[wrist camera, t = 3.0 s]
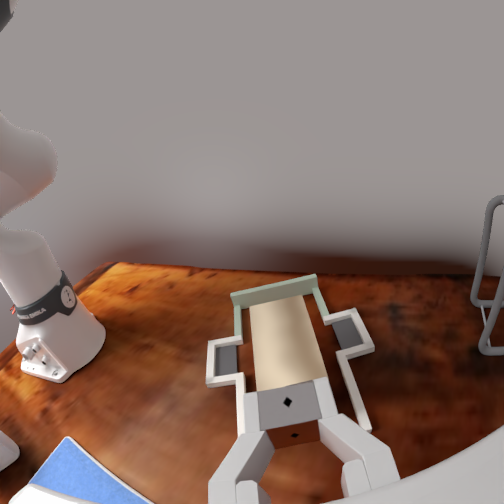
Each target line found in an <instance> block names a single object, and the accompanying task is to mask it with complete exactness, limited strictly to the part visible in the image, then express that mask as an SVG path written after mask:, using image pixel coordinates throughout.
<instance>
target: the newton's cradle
mask: <svg viewBox="0 0 504 504" xmlns="http://www.w3.org/2000/svg"><path fill="white" fill-rule="evenodd" d="M501 204H504V195H500V196H496V197H494V198H493V199H492V200H491V201H490V202H489V203H488V205H487V208H486V213H485V221H484V229H483V236H482V243H481V248H480V254H479V259H478V264H477V269H476V274H475V278H474V283H473V287H472V291H471V296H470V299H471V302H472V304H473V305H474V306H476V307H479V308H481V311H482V315H483V320H484V325H485V328H484V331H483V333H482V336H481V338H480V341H479V345H478V346H479V350H480V352H481V353H482V354H484V355H489V356H494V355H504V347H491V345H490V339H489V336H490V334H491V332H492V329H493V327H494V324H495V321H496V319H497V316H498V313H499V310H500V308H504V301H503V299H504V267H503V271H502V275H501V279H500V282H499V286H498V289H497V293H496V296H495V299H494V300H479V299H478V298H477V294H478V290H479V287H480V283H481V278H482V274H483V270H484V265H485V260H486V256H487V250H488V244H489V239H490V233H491V226H492V218H493V212H494V209H495V208H496V207H497V206H498V205H501ZM483 308H491V311H490V314H489V317H488V320H487V323H486V318H485V313H484V309H483ZM487 343H488V346H486V344H487Z"/></svg>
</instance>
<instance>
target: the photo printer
mask: <svg viewBox="0 0 504 504" xmlns="http://www.w3.org/2000/svg"><path fill="white" fill-rule="evenodd" d="M19 453H20V451H19V447H18V446H17V445H16V444H15V442H14V441H13V440H12V439H10V438H9V437H8V436H7V435H5V434H4V433H3V432H2V431H1V430H0V471H1V470H3V469H4V468H6V467H7V466H9V465H10V464H11V463H13V462H14V461H15V460H16V459H17V458H18V456H19Z"/></svg>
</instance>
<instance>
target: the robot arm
mask: <svg viewBox="0 0 504 504" xmlns="http://www.w3.org/2000/svg"><path fill="white" fill-rule="evenodd" d="M17 2H18V0H0V32H1V31H2V30H3V28H4V27H5V26H6V25H7V23H8V22H9V20H10V19H11V18H12V17H13V13H14V9H15V7H16V5H17ZM56 171H57V154H56V150H55V148H54V145H53V144H52V142H51V141H50V140H49V138H48V137H46V136H45V135H44V134H42V133H40V132H38V131H29V130H24V129H21V128H19V127H17V126H15V125H13V124H11V123H10V122H9V121H8V120H7V119H6V118H5V117H4V116H3V114H2V113H1V111H0V219H1V218H2V217H3V216H5V215H6V214H8V213H10V212H11V211H13V210H14V209H16V208H18V207H19V206H21V205H23V204H24V203H26V202H28V201H29V200H31V199H33V198H34V197H35V196H37V195H38V194H39V193H40V192H41V191H43V190H44V189H45V188H46V187H47V186H48V185H50V184H51V183H52V182H53V181H54V178H55V175H56ZM0 282H1V283H2V285H3V286H4V288H5V289H6V291H7V293H8V294H9V296H10V297H11V299H12V301H13V302H14V305H13V306H12V308H11V309H10V311H11V310H12V309H13V308H14V310H13V313H12V314H14V313H15V312H16V313H17V316H18V319H19V322H20V325H19V330H18V335H17V339H16V345H17V348H18V350H19V351H20V353H21V354H22V356H23V359H22V363H21V370H22V371H23V372H24V373H27V374H30V375H33V376H36V377H40V378H43V379H46V380H50V381H54V382H57V383H62V382H64V381H65V380H66V379H67V378H68V377H69V376H70V375H71V374H72V373H73V372H75V371H76V370H78V369H80V368H82V367H83V366H85V365H86V364H87V363H88V362H90V361H91V360H92V359H93V358H94V357H95V356H96V354H97V353H98V352H99V350H100V349H101V347H102V345H103V343H104V340H105V336H106V331H105V328H104V326H103V325H102V324H101V323H99V322H98V321H97V320H96V319H95V316H94V315H93V314H92V313H90V312H89V311H88V310H87V308H86V307H85V306H84V304H83V303H82V302H81V300H80V299H79V298H78V296H77V295H76V294H75V292H74V290H73V287H72V285H71V283H70V281H69V280H68V277H67V276H66V275H65V273H64V271H62V270H60V268H59V266H58V264H57V262H56V260H55V258H54V256H53V255H52V252H51V251H50V248H49V246H48V244H47V242H46V240H45V238H44V237H43V236H42V235H41V234H40V233H38V232H36V231H32V230H9V229H7V228H5V227H4V226H3V224H2V223H1V221H0ZM243 411H244V430H245V433H243V434H240V436H239V437H238V439H237V440H236V442H235V444H234V445H233V447H232V448H231V450H230V451H229V453H228V454H227V456H226V457H225V459H224V460H223V462H222V463H221V465H220V466H219V468H218V469H217V471H216V472H215V473H214V475H213V476H212V478H211V479H210V481H209V484H208V504H271V499H270V496H269V495H268V494H267V493H266V492H265V491H264V490H263V489H262V488H261V487H260V486H259V485H258V483H259V481H260V480H261V478H262V476H263V474H264V472H265V470H266V468H267V466H268V464H269V462H270V460H271V458H272V456H273V454H274V452H275V449H279V448H284V447H289V446H293V445H298V444H303V443H309V442H314V441H318V440H321V442H322V443H323V444H324V445H325V446H326V447H328V448H329V449H330V450H331V451H332V452H333V453H334V454H335V455H336V456H337V457H338V458H339V459H341V460H342V461H343V462H344V463H345V464H344V466H343V469H342V478H341V486H342V491H343V495H344V498H343V499H339V500H335V501H331V502H327V503H322V504H504V425H503V426H501V427H500V428H499V429H497V430H496V431H494V432H493V433H491V434H489V435H488V436H486V437H485V438H483V439H482V440H480V441H478V442H477V443H475V444H473V445H472V446H470V447H468V448H466V449H465V450H463V451H461V452H459V453H457V454H456V455H454V456H452V457H450V458H448V459H446V460H444V461H442V462H440V463H438V464H436V465H434V466H432V467H430V468H427V469H425V470H423V471H421V472H418V473H416V474H414V475H411V476H409V477H407V478H404V479H402V480H400V477H399V474H398V471H397V468H396V465H395V462H394V459H393V456H392V453H391V450H390V448H389V447H388V446H387V445H385V444H384V443H382V442H381V441H380V440H378V439H377V438H375V437H374V436H373V435H371V434H370V433H368V432H367V431H366V430H364V429H363V428H362V427H360V426H359V425H358V424H356V423H355V422H354V421H352V420H351V419H350V418H348V417H347V416H346V415H344V414H343V413H342V414H338V410H337V407H336V404H335V400H334V397H333V393H332V390H331V387H330V383H329V380H328V378H327V377H326V376H325V377H322V378H318V379H314V380H308V381H304V382H300V383H296V384H292V385H288V386H285V387H280V388H274V389H269V390H263V391H256V392H251V393H245V394H244V395H243ZM9 504H101V503H96V502H92V501H88V500H84V499H80V498H77V497H73V496H70V495H66V494H63V493H60V492H57V491H54V490H51V489H48V488H45V487H42V486H40V485H37V484H33V483H31V484H28V485H26V486H25V487H24V488H22V489H21V490H20V491H19V492H18V493H17V494H16V495H14V496H13V497H12V498H11V500H10V501H9Z"/></svg>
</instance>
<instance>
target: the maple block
mask: <svg viewBox="0 0 504 504" xmlns="http://www.w3.org/2000/svg"><path fill="white" fill-rule="evenodd" d="M249 308H250V319H251V331H252V342H253V353H254V364H255V375H256V386H257V391H263V390H269V389H274V388H280V387H285V386H288V385H292V384H296V383H300V382H304V381H308V380H314V379H318V378H322V377H325V376H326V377H327V378H328V376H327V372H326V369H325V366H324V362H323V359H322V356H321V353H320V349H319V346H318V343H317V340H316V337H315V334H314V330H313V327H312V324H311V321H310V318H309V315H308V312H307V309H306V306H305V302H304V299H303V296H302V295H298V296H294V297H289V298H285V299H281V300H276V301H272V302H267V303H263V304H258V305H254V306H249ZM328 380H329V379H328Z"/></svg>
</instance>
